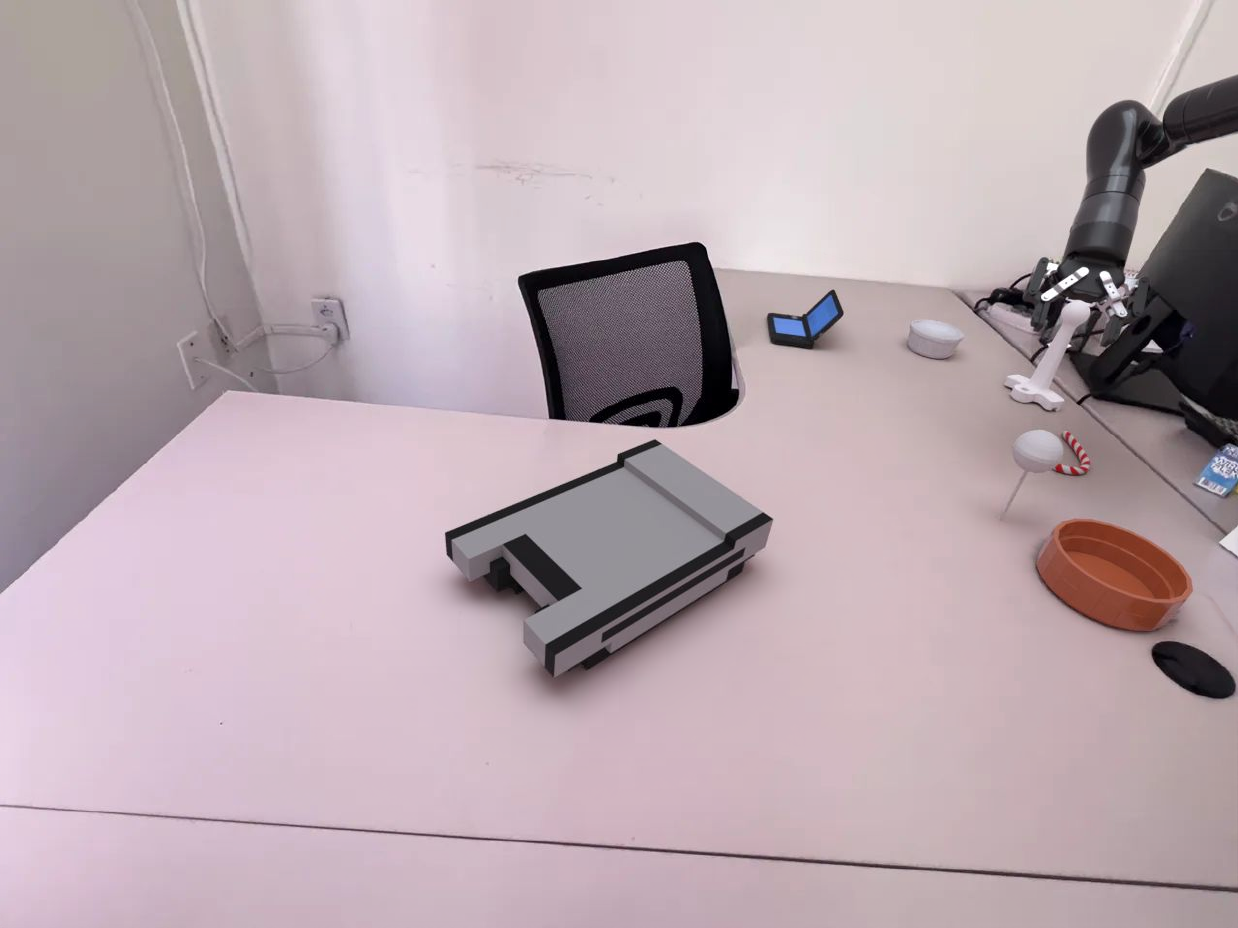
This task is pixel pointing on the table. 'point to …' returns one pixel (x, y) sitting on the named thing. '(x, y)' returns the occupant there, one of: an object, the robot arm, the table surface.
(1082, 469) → the candy cane
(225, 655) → the table surface
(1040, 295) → the robot arm
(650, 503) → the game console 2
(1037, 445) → the lollipop
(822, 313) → the game console
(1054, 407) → the joystick
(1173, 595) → the bowl
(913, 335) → the ramekin
